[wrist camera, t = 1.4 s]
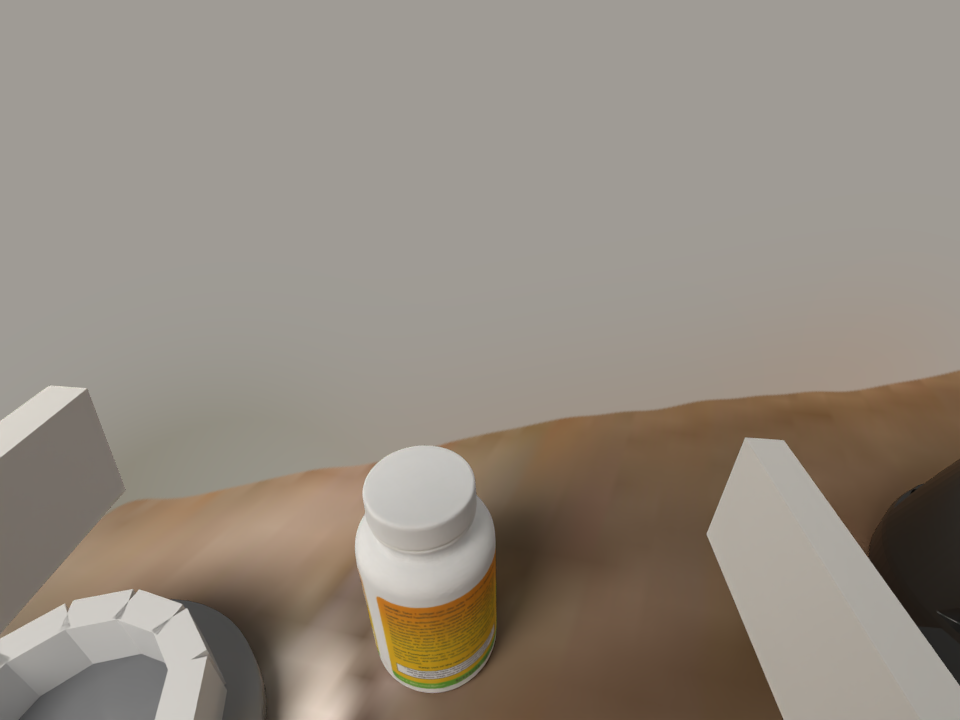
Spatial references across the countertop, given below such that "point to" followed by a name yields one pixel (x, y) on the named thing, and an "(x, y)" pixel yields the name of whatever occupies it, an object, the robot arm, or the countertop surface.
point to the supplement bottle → (428, 568)
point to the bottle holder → (130, 663)
